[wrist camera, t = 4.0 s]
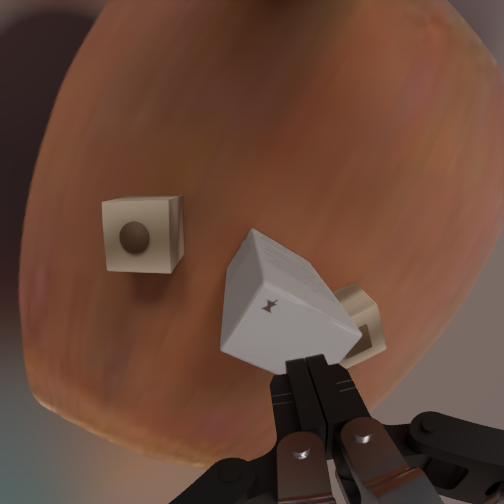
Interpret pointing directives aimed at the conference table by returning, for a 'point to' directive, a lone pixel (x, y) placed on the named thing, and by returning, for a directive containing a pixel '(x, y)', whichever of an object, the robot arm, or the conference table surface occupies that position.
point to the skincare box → (280, 309)
